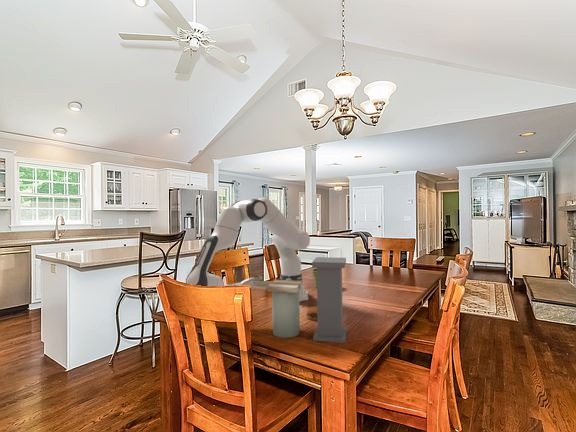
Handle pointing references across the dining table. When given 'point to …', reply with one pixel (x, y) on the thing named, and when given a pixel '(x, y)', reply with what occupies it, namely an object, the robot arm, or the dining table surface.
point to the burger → (312, 313)
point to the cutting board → (278, 285)
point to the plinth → (329, 300)
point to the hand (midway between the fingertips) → (257, 279)
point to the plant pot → (315, 276)
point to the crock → (285, 314)
